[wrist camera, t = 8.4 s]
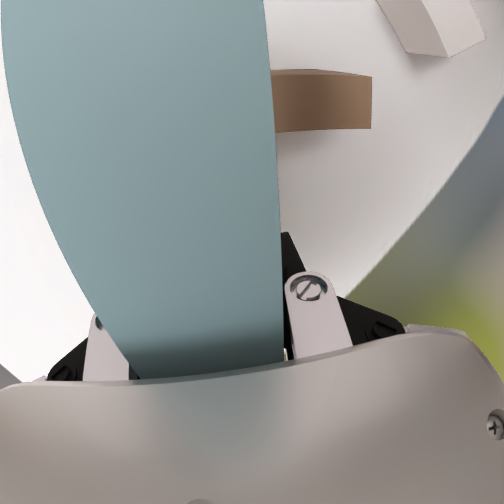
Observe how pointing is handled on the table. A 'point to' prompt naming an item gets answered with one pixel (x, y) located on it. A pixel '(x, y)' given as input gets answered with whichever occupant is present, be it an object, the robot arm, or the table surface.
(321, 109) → the walnut slotted board
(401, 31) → the white cube
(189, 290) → the teal slotted board
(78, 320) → the table surface
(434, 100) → the table surface
